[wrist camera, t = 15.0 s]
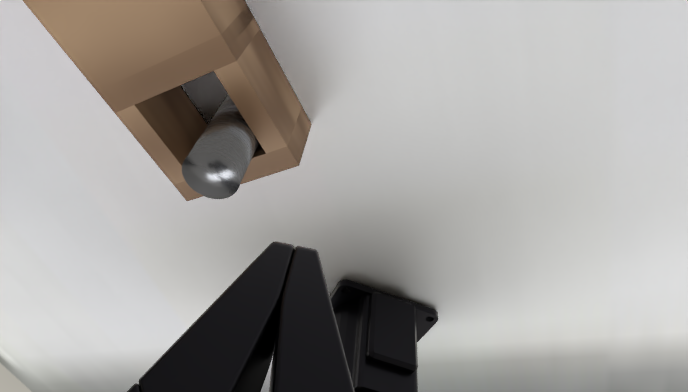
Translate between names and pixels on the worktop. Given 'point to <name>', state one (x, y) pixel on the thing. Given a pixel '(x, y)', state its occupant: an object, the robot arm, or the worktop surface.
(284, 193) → the worktop surface
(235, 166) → the cylinder
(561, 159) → the worktop surface
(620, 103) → the worktop surface
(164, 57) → the link
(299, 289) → the robot arm
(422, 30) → the worktop surface
